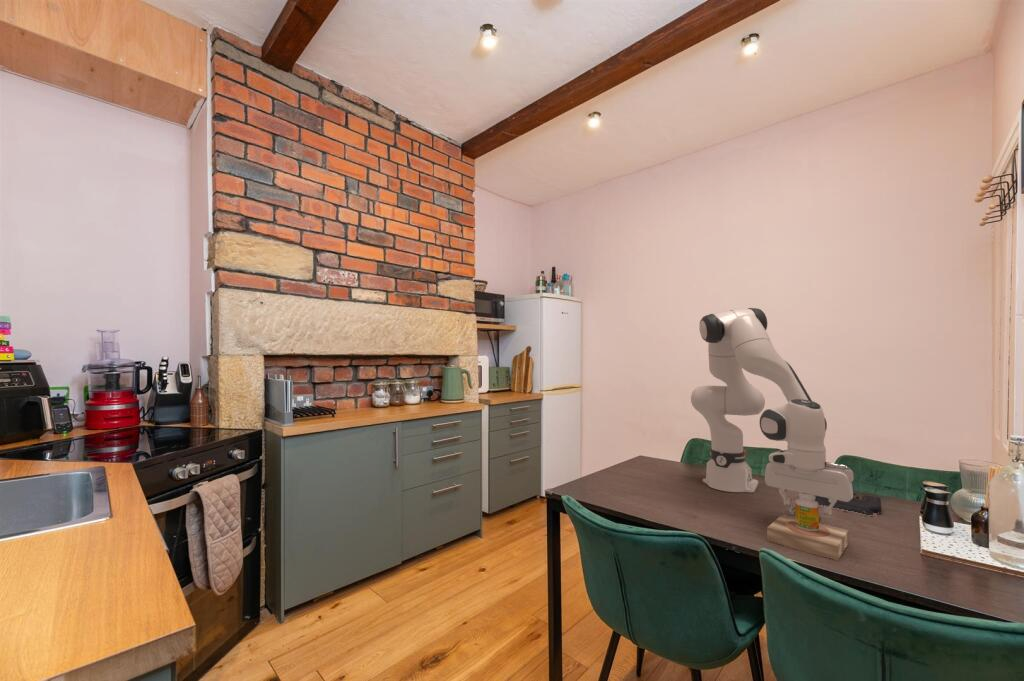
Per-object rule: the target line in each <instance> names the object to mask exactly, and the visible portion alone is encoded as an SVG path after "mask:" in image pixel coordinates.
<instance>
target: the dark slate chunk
mask: <svg viewBox="0 0 1024 681" xmlns="http://www.w3.org/2000/svg"><path fill="white" fill-rule="evenodd" d="M815 501H817V502H818V504H819V505H823V506H824V505H825V506H829V505H830V504H831V502H829V498H825V497H820V496H816V499H815ZM881 503H882V500H881V498H880V497H878V496H876V497H875V496H873V495H868V494H863V495H862V498H860V497H859V495H858V494H856V493H855V492H853V498H852V499H851V500H850V501H848V502H845V501H840V500H837V502H836V503H835V504H834V506H833V508H839V509H844V510H848V511H854V512H858V513H862V514H866V515H873V513H878V512H881V513H882V504H881Z"/></svg>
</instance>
